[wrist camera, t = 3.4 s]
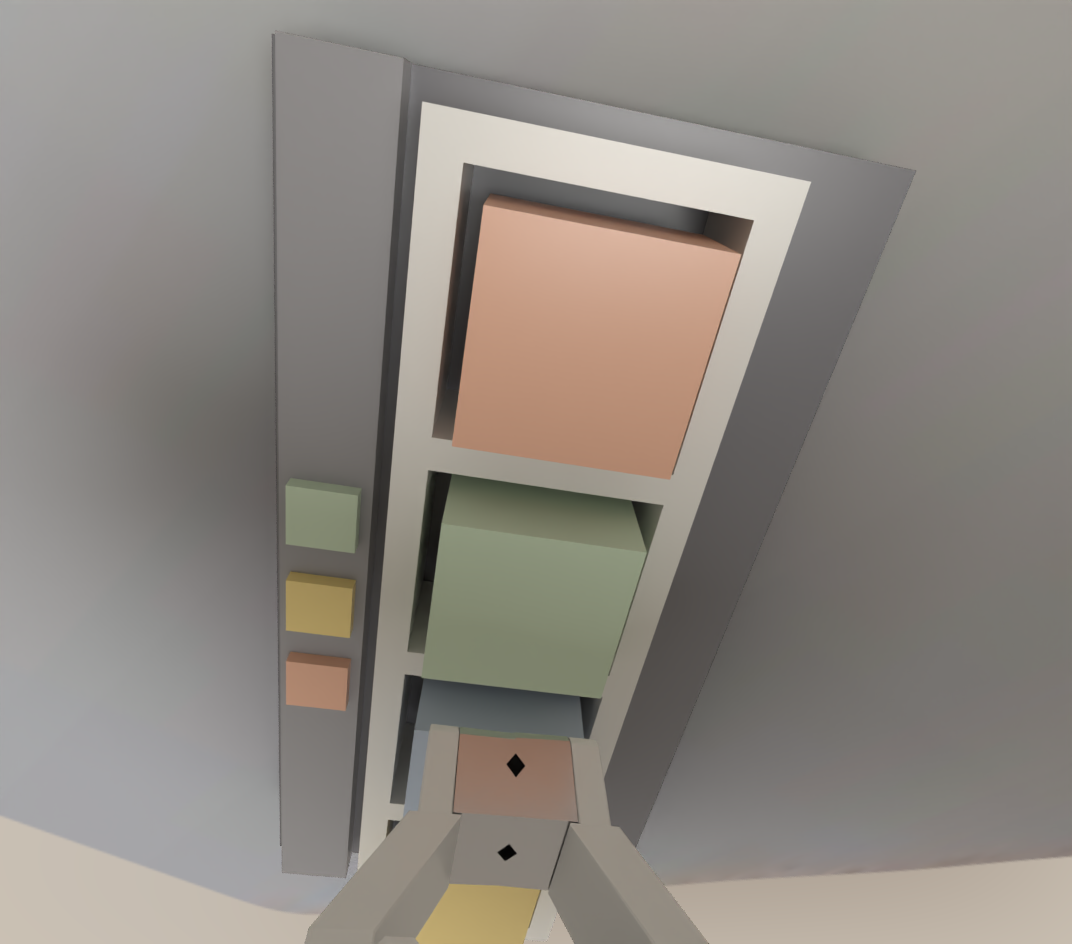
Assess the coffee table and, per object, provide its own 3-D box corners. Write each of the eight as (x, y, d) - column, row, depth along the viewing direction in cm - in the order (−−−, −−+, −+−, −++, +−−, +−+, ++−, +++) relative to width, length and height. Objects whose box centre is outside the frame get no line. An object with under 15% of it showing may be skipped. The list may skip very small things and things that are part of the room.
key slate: (577, 675, 19) (585, 748, 16) (549, 773, 21) (552, 850, 18) (427, 657, 18) (414, 729, 16) (413, 759, 20) (400, 836, 18)
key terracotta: (703, 234, 13) (741, 254, 11) (647, 429, 15) (669, 479, 13) (490, 193, 12) (483, 204, 10) (462, 399, 14) (451, 446, 12)
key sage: (629, 494, 16) (646, 552, 14) (591, 629, 18) (600, 698, 16) (453, 468, 15) (441, 523, 13) (434, 609, 17) (421, 678, 15)
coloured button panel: (872, 167, 16) (1007, 177, 11) (617, 829, 28) (635, 958, 24) (302, 46, 14) (205, 5, 10) (296, 799, 27) (251, 929, 22)
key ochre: (539, 808, 21) (541, 886, 19) (518, 884, 23) (517, 961, 21) (408, 795, 21) (395, 873, 19) (398, 873, 23) (385, 951, 21)
